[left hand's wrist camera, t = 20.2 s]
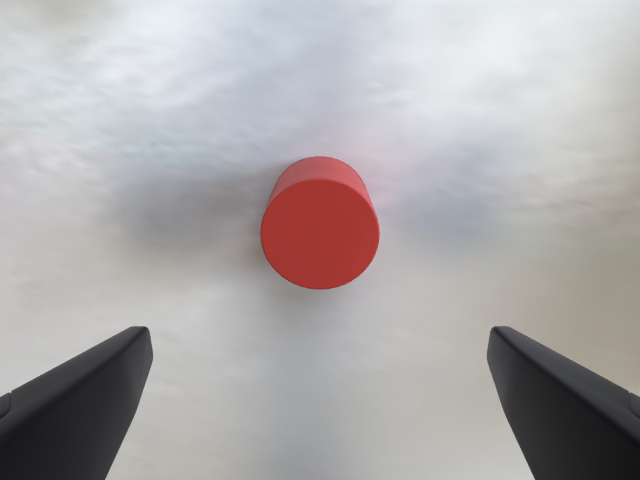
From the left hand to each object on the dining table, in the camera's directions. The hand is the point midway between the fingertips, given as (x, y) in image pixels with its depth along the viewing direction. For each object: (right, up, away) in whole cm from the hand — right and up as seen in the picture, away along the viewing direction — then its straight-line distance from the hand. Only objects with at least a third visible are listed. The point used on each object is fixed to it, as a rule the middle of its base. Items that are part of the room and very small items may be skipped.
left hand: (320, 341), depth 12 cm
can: (0, +4, +11) cm, 12 cm away
